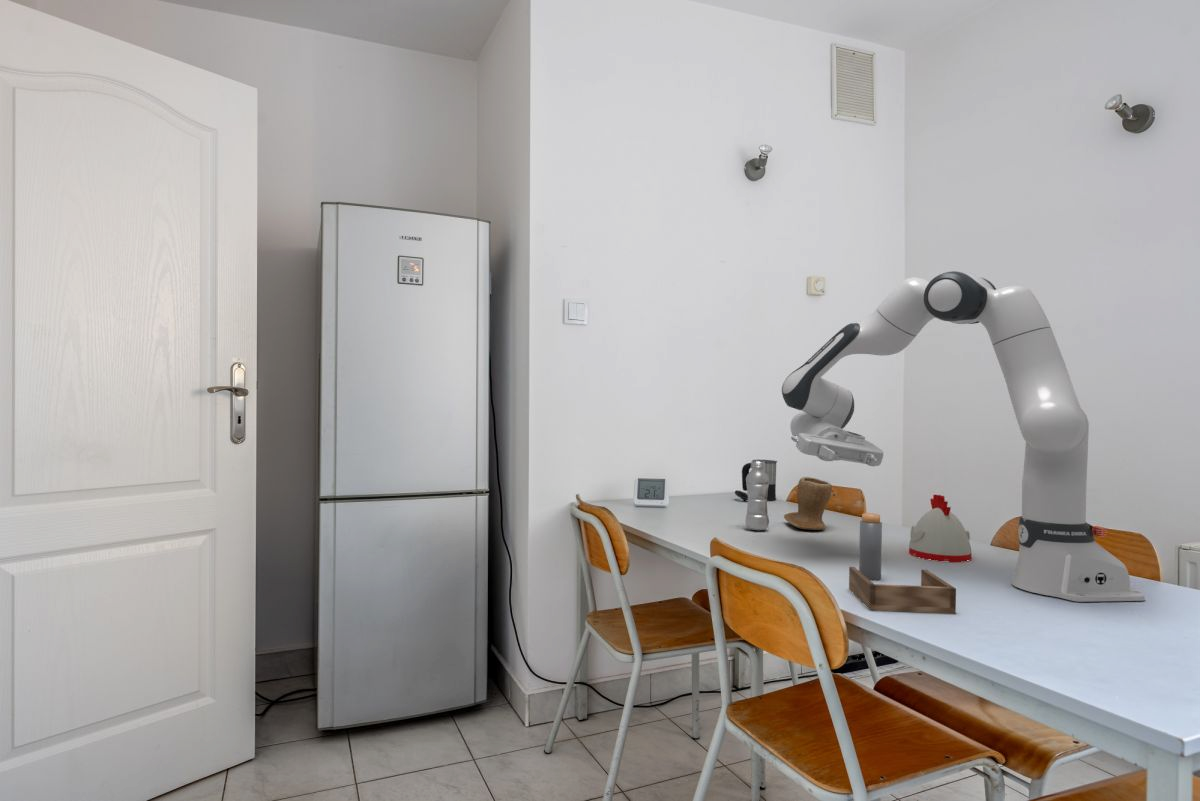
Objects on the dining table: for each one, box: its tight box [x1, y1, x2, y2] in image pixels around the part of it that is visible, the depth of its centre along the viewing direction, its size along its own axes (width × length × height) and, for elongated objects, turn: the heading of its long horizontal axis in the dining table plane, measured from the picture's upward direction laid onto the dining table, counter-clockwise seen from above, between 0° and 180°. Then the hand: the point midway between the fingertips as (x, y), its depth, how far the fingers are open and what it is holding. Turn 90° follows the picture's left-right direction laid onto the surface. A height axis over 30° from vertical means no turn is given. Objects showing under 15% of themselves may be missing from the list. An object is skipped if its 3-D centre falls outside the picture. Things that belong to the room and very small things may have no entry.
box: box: [848, 566, 957, 615], centre depth 134 cm, size 15×14×4 cm
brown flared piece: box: [783, 476, 833, 531], centre depth 208 cm, size 15×12×15 cm
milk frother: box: [734, 459, 778, 502], centre depth 264 cm, size 14×16×15 cm
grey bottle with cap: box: [858, 512, 883, 581], centre depth 151 cm, size 4×4×14 cm
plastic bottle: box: [744, 460, 770, 532], centre depth 203 cm, size 6×7×20 cm
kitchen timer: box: [908, 494, 972, 563], centre depth 173 cm, size 14×14×15 cm
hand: (854, 459), depth 159 cm, fingers open, 8 cm apart
